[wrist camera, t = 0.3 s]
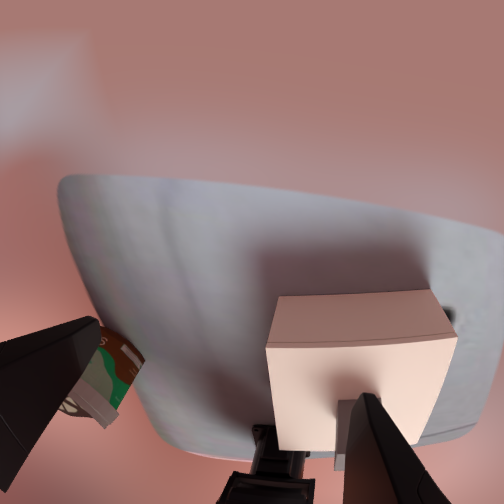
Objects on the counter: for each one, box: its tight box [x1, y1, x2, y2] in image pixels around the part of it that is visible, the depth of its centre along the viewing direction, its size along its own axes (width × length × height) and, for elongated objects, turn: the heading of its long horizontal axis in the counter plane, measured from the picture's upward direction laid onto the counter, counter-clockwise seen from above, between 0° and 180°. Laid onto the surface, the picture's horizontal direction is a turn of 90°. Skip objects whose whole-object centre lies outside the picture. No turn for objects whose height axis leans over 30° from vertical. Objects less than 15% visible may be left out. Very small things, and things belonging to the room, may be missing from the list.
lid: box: [266, 332, 458, 471], centre depth 16 cm, size 12×12×5 cm
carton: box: [267, 289, 455, 343], centre depth 21 cm, size 12×12×6 cm
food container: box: [58, 326, 145, 429], centre depth 25 cm, size 12×6×10 cm, turn 109°
